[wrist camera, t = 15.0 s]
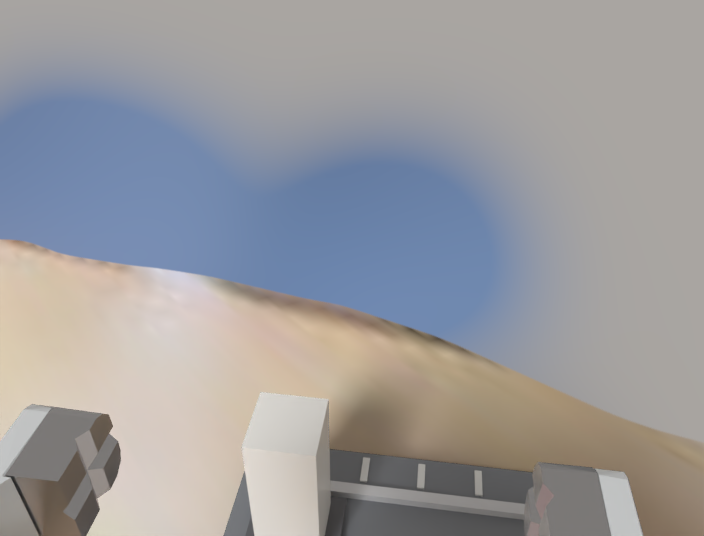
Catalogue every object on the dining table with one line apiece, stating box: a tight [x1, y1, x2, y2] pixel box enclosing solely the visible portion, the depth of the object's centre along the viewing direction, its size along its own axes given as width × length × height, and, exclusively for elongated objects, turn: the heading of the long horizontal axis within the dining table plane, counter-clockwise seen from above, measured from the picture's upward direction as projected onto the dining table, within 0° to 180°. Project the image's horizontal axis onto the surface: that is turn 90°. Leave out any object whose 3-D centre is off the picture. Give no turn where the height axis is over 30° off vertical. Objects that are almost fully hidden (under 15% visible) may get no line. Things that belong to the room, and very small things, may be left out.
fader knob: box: [241, 392, 347, 536], centre depth 38 cm, size 6×5×10 cm
